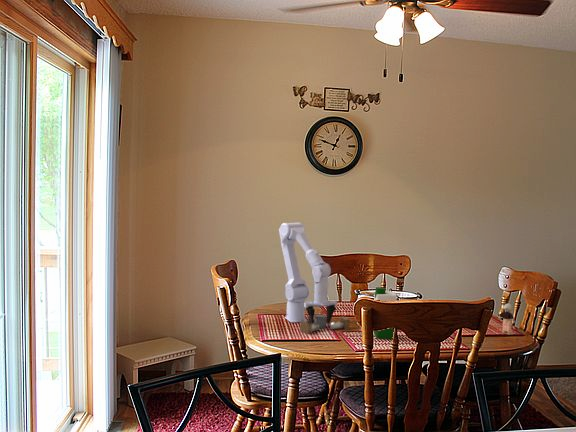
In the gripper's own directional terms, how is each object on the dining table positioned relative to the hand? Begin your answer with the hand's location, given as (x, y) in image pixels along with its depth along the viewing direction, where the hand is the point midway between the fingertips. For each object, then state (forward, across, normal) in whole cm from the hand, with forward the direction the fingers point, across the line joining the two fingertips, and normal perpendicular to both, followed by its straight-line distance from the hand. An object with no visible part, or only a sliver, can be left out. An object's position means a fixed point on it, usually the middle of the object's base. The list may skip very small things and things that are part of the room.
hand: (320, 323), depth 250 cm
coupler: (+2, 0, 0) cm, 2 cm away
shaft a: (+2, +6, -4) cm, 8 cm away
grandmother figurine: (+2, +74, -28) cm, 79 cm away
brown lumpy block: (+2, -6, -6) cm, 9 cm away
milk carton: (+2, +20, -20) cm, 29 cm away
